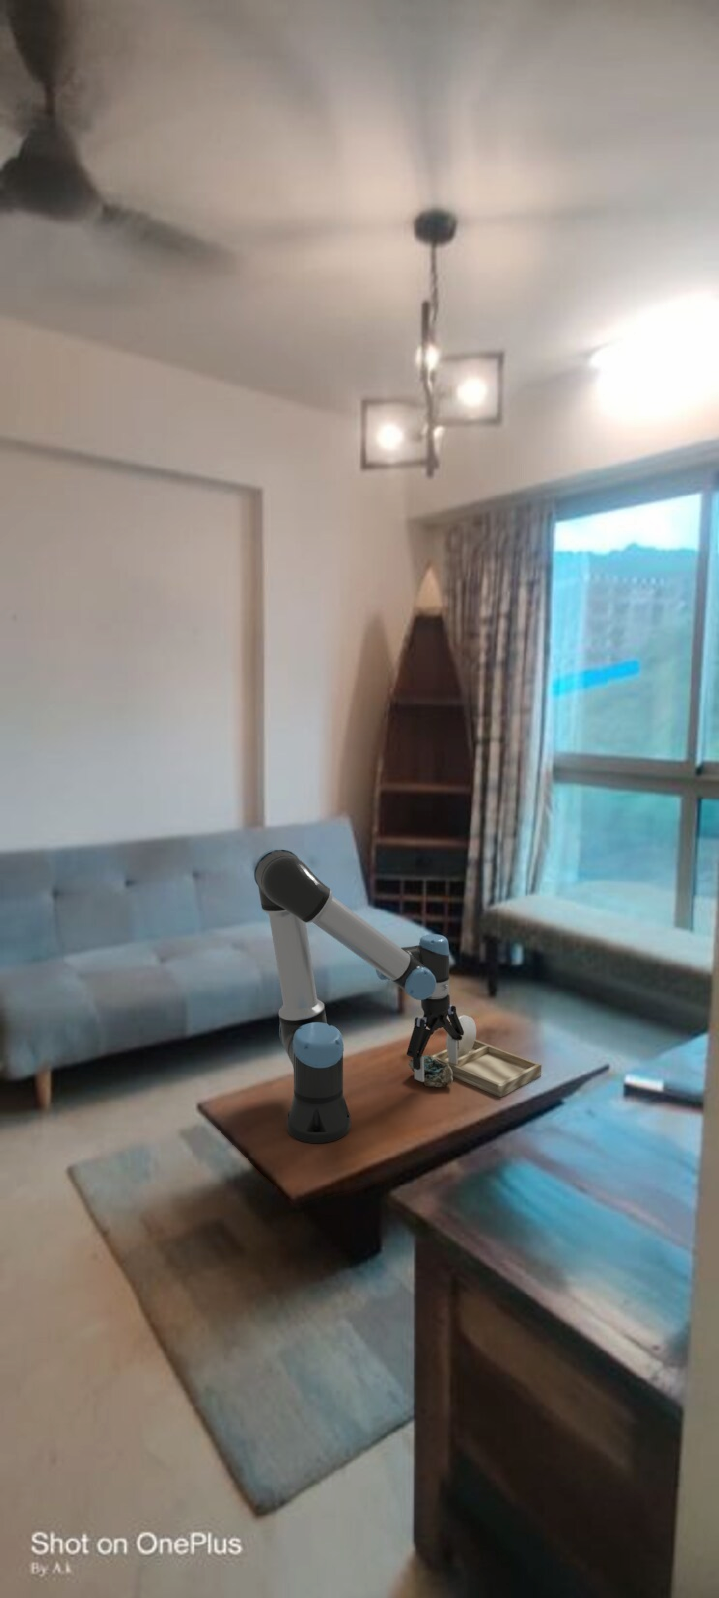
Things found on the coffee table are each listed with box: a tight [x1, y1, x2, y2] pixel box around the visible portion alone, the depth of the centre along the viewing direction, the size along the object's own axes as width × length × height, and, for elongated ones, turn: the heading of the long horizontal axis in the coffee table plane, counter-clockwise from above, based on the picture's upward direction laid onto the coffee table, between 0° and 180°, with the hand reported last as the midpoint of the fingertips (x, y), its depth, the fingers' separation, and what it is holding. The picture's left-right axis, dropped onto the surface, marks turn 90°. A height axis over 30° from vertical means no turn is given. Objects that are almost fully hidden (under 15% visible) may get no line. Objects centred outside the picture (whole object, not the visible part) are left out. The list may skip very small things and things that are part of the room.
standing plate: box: [445, 1014, 477, 1058], centre depth 222 cm, size 12×1×12 cm, turn 133°
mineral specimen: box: [408, 1054, 454, 1088], centre depth 210 cm, size 12×9×8 cm
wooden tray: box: [431, 1038, 542, 1098], centre depth 216 cm, size 18×24×3 cm
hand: (436, 1071), depth 210 cm, fingers open, 13 cm apart
